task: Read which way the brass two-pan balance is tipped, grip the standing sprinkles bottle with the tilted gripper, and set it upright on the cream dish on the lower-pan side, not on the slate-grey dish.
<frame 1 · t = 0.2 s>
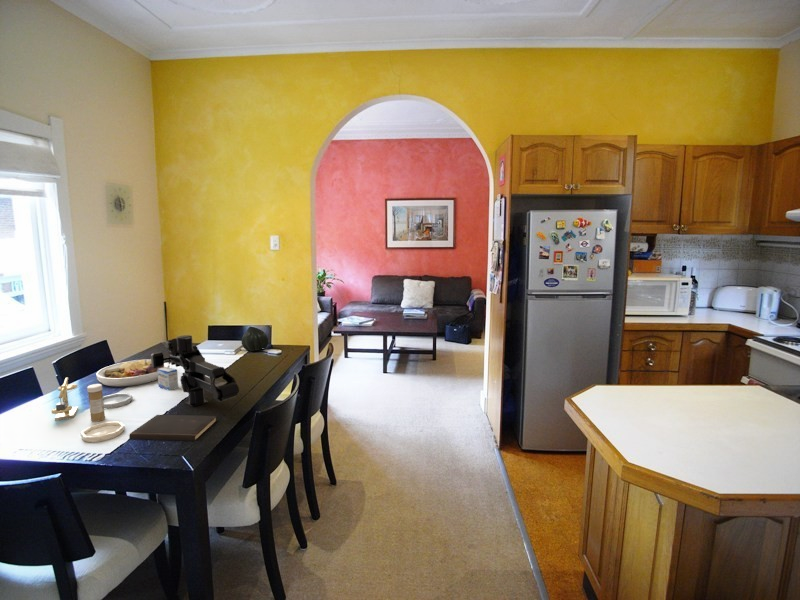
hand: (166, 353, 192), 17 cm above the table, tool horizontal, fingers open, 9 cm apart
medicine box: (168, 387, 196), on the table
bowl: (135, 378, 210), on the table
squash: (255, 350, 259), on the table
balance: (67, 414, 167), on the table
slate dish: (114, 402, 179), on the table
hardcover book: (175, 431, 155), on the table
cream dish: (103, 434, 151), on the table
sprinkles bottle: (98, 420, 163), on the table
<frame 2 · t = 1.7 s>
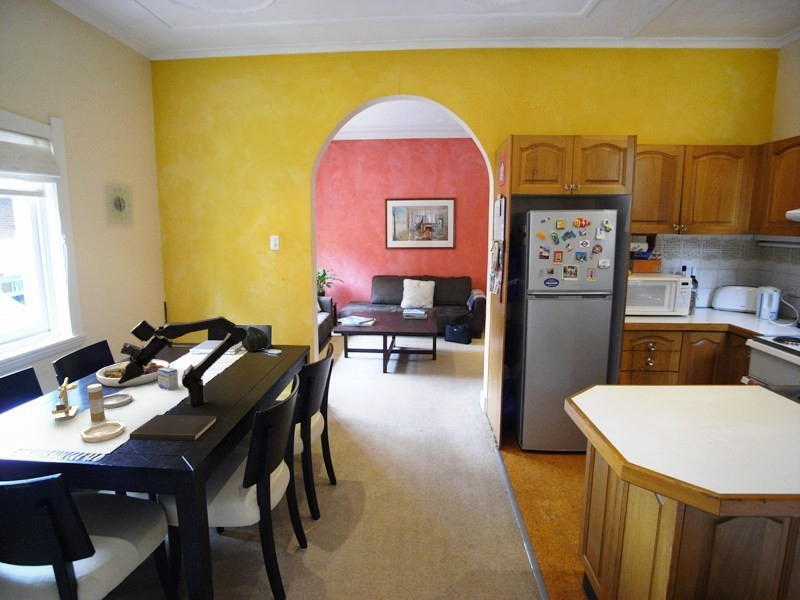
hand: (120, 379, 165), 14 cm above the table, tool tilted 45°, fingers open, 9 cm apart
nothing on the table moved.
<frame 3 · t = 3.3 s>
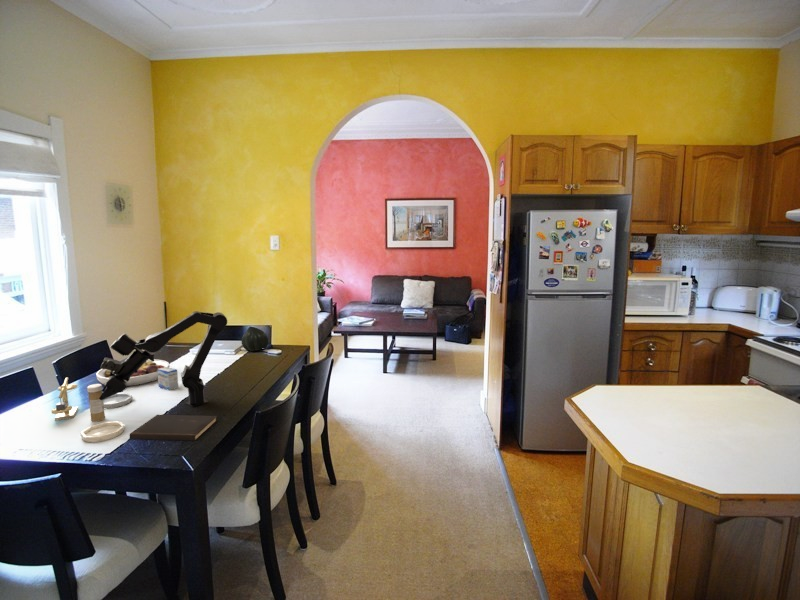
hand: (101, 395, 162), 9 cm above the table, tool tilted 45°, fingers open, 9 cm apart
nothing on the table moved.
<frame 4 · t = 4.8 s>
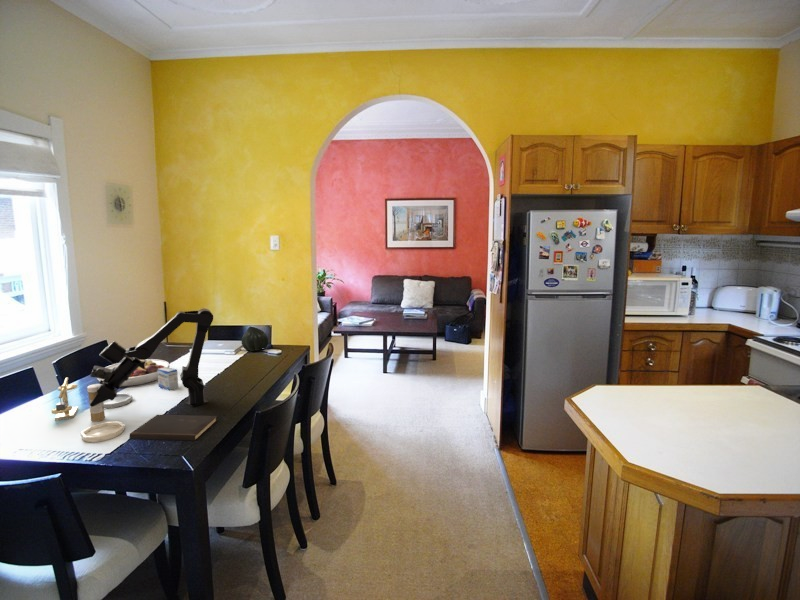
hand: (91, 403, 161), 7 cm above the table, tool tilted 45°, fingers closed on sprinkles bottle, 4 cm apart
sprinkles bottle: (98, 420, 163), on the table, touching gripper
everything else where it was.
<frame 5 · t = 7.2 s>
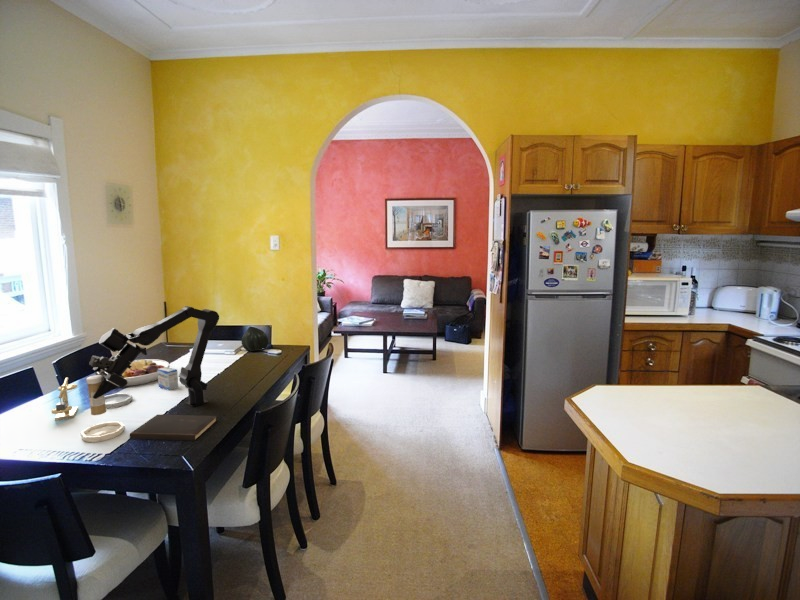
hand: (92, 396, 150), 13 cm above the table, tool tilted 45°, fingers closed on sprinkles bottle, 4 cm apart
sprinkles bottle: (98, 413, 152), point 6 cm above the table, touching gripper
everything else where it was.
when the fingers open (8 cm above the table, at t = 9.5 s): sprinkles bottle stays where it is, resting on cream dish.
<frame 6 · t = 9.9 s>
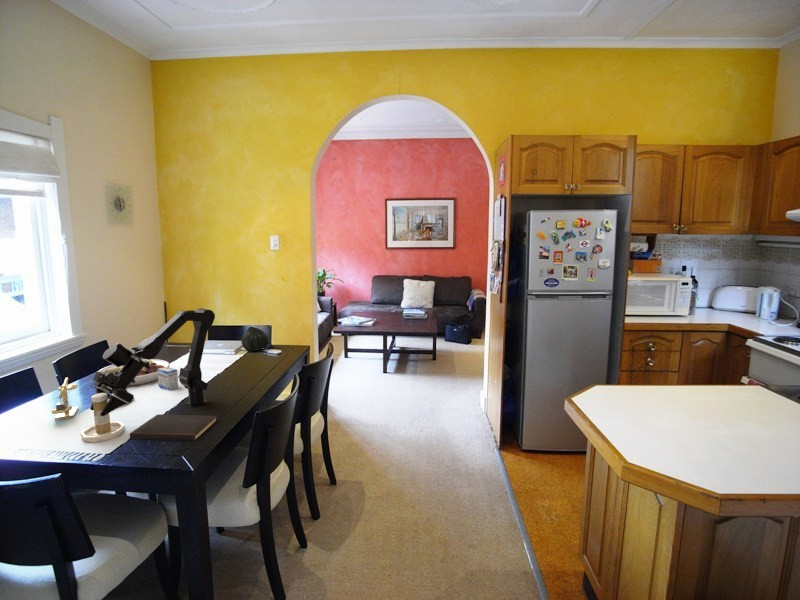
hand: (96, 412, 149), 8 cm above the table, tool tilted 45°, fingers open, 8 cm apart
sprinkles bottle: (103, 432, 151), point 1 cm above the table, touching cream dish
everything else where it was.
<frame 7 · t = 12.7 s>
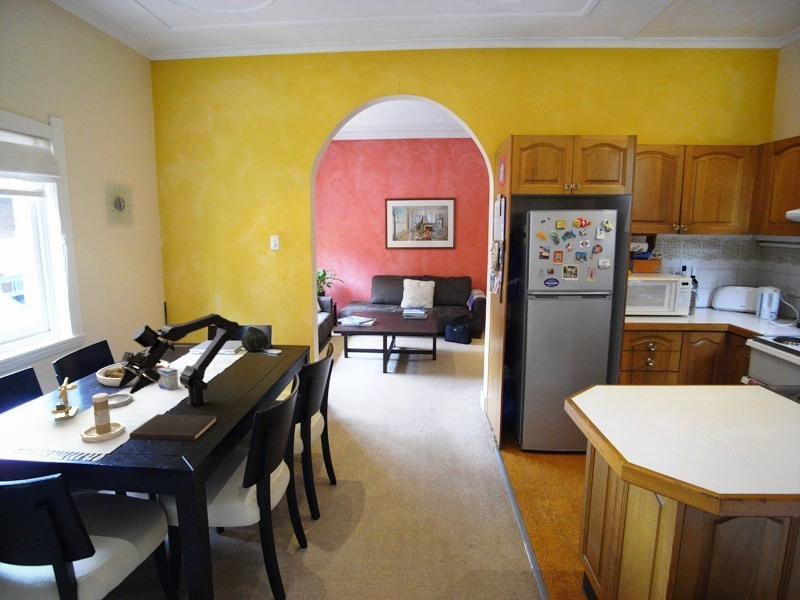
hand: (124, 390, 155), 13 cm above the table, tool tilted 45°, fingers open, 9 cm apart
nothing on the table moved.
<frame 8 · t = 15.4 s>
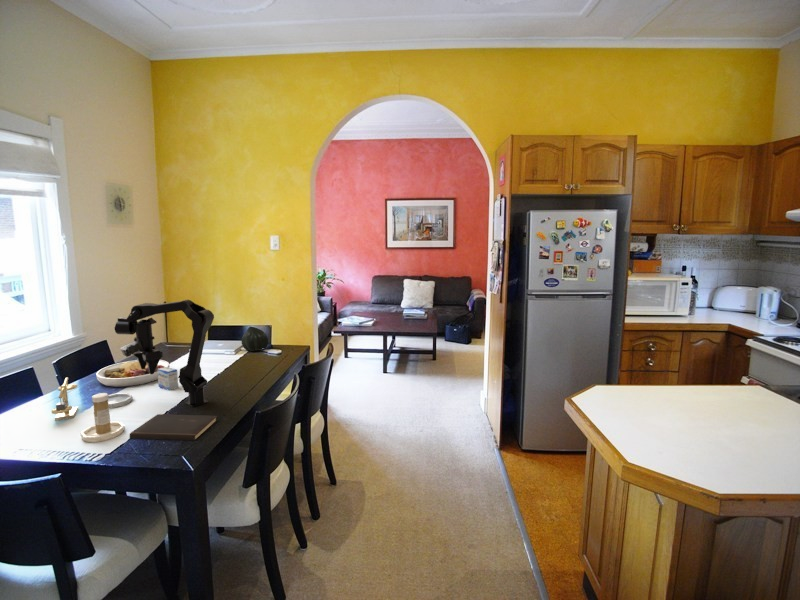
hand: (147, 371, 178), 13 cm above the table, tool pointing down, fingers open, 9 cm apart
nothing on the table moved.
at the end: sprinkles bottle 0.2 cm from the cream dish (horizontally); sprinkles bottle tilted 0°; the gripper is holding nothing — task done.
